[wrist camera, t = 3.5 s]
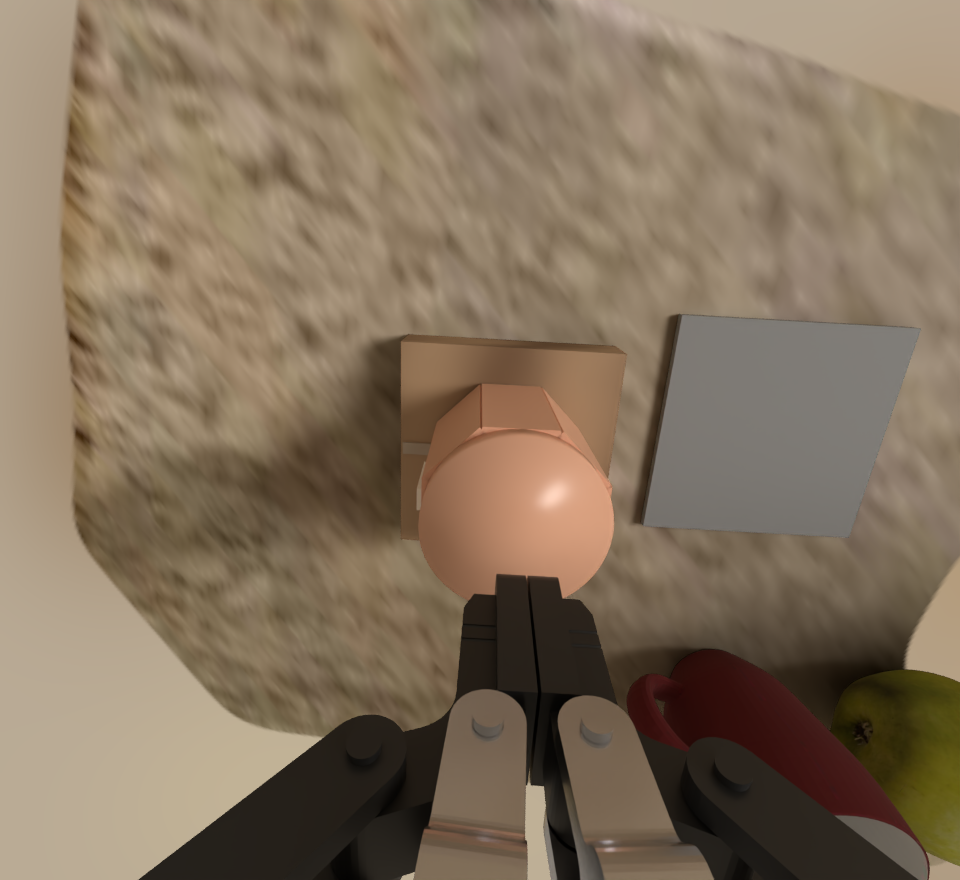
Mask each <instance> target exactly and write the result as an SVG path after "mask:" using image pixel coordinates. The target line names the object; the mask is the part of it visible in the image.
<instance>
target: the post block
mask: <svg viewBox="0 0 960 880" xmlns="http://www.w3.org/2000/svg"><path fill="white" fill-rule="evenodd" d="M626 357H627V354H626V353H624V352H623V351H621V350H620V349H619V348H617V347H616V346H604V345H586V344H568V343H551V342H533V341H516V340H498V339H480V338H463V337H445V336H427V335H410V334H408V335H407V336H406V337H405V338H404V339H403V340H402V341H401V539H407V540H420V539H419V530H418V521H419V512H420V510H417V486H418V482H419V479H420V475H421V472H422V468H423V464H424V462H426V460H427V456H428V453H429V449H430V445H431V441H432V438H433V434H434V430H435V426H436V423H437V421H438V420H440V419H441V418H442V417H443V416H444V415H445V414H446V413H448V412H449V411H450V410H451V409H452V408H453V407H454V406H456V405H457V404H458V403H459V402H460V401H461V400H462V399H464V398H465V397H466V396H467V395H468V394H469V393H470V392H471V391H473V390H474V389H475V388H476V387H477V386H478V385H479V384H480V385H481V386H482V384H501V385H520V386H539V387H541V388H543V389H544V390H545V391H546V392H547V393H548V394H549V396H550V397H551V398H552V399H553V400H554V401H555V402H556V404H557V405H558V406H559V407H560V408H561V409H562V410H563V412H564V413H565V414H566V415H567V416H568V417H569V418H570V420H571V421H572V422H573V423H574V424H575V425H576V426H577V428H578V429H579V430H580V432H581V434H582V435H583V437H584V439H585V441H586V442H587V444H588V446H589V447H590V449H591V451H592V453H593V454H594V456H595V458H596V459H597V461H598V463H599V465H600V466H601V468H602V470H603V472H604V473H605V475H606V477H607V478H608V475H609V468H610V462H611V455H612V449H613V442H614V436H615V429H616V423H617V416H618V410H619V403H620V396H621V390H622V383H623V377H624V370H625V364H626Z"/></svg>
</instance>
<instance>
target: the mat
mask: <svg viewBox="0 0 960 880" xmlns="http://www.w3.org/2000/svg"><path fill="white" fill-rule="evenodd" d="M920 330H921V329H920V328H914V327H897V326H879V325H862V324H844V323H827V322H809V321H791V320H774V319H756V318H739V317H721V316H704V315H686V314H679V316H678V322H677V327H676V333H675V338H674V344H673V349H672V354H671V360H670V365H669V371H668V376H667V382H666V387H665V393H664V398H663V404H662V409H661V415H660V420H659V426H658V431H657V436H656V442H655V447H654V453H653V458H652V464H651V469H650V475H649V480H648V486H647V491H646V497H645V502H644V507H643V513H642V518H641V523H642V525H643V526H649V527H667V528H685V529H702V530H720V531H738V532H756V533H773V534H791V535H809V536H827V537H845V538H849V536H850V533H851V530H852V527H853V524H854V521H855V518H856V516H857V513H858V510H859V507H860V504H861V501H862V498H863V495H864V492H865V489H866V487H867V484H868V481H869V478H870V475H871V472H872V469H873V466H874V463H875V461H876V458H877V455H878V452H879V449H880V446H881V443H882V440H883V437H884V434H885V432H886V429H887V426H888V423H889V420H890V417H891V414H892V411H893V408H894V406H895V403H896V400H897V397H898V394H899V391H900V388H901V385H902V382H903V379H904V377H905V374H906V371H907V368H908V365H909V362H910V359H911V356H912V353H913V351H914V348H915V345H916V342H917V339H918V336H919V333H920Z"/></svg>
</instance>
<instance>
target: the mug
mask: <svg viewBox="0 0 960 880" xmlns="http://www.w3.org/2000/svg"><path fill="white" fill-rule="evenodd" d="M654 698H655V699H659V700H661V701H664V702H665V706H664V714H663V716H662V714H661V713H660V711H659V709H658V707H657V705H656V702H655V699H654ZM627 708H628V713H629V717H630V719H631V721H632V722H633V724H634V726H635V728H636V729H637V730H638V731H639V732H641V733H642V734H644V735H645V736H647V737H649V738H651V739H653V740H656V741H658V742H661V743H663V744H666V745H669V746H672V747H675V748H678V749H681V750H683V751H686V752H688V750H689V748H690V746H691V745H692V744H693V743H694V742H696V741H697V740H699V739H702V738H707V737H717V738H723V739H726V740H730V741H732V742H735V743H737V744H739V745H741V746H743V747H744V748H746V749H747V750H749V751H750V752H752V753H753V754H755V755H756V756H757V757H758V758H760V759H761V760H762V761H764V762H765V763H766V764H768V765H769V766H770V767H772V768H773V769H774V770H775V771H777V772H778V773H779V774H781V775H782V776H783V777H785V778H786V779H787V780H789V781H790V782H791V783H792V784H794V785H795V786H796V787H798V788H799V789H800V790H802V791H803V792H804V793H806V794H807V795H808V796H809V797H811V798H812V799H813V800H815V801H816V802H817V803H819V804H820V805H821V806H823V807H824V808H825V809H827V810H828V811H829V812H830V813H832V814H833V815H834V816H836V817H837V818H838V819H840V820H841V821H842V822H844V823H845V824H846V825H847V826H849V827H850V828H851V829H853V830H854V831H855V832H857V833H858V834H859V835H861V836H862V837H863V838H864V839H866V840H867V841H868V842H870V843H871V844H872V845H874V846H875V847H876V848H878V849H879V850H880V851H882V852H883V853H884V854H885V855H887V856H888V857H889V858H891V859H892V860H893V861H895V862H896V863H897V864H899V865H900V866H901V867H902V868H904V869H905V870H906V871H908V872H909V873H910V874H912V875H913V876H914V877H916V878H917V879H918V880H928V879H929V871H930V867H929V860H928V856H927V854H926V851H925V849H924V848H923V846H922V844H921V843H920V841H919V840H918V838H917V837H916V835H915V834H914V833H913V831H912V830H911V828H910V827H909V825H908V824H907V823H906V821H905V820H904V818H903V817H902V815H901V814H900V813H899V811H898V810H897V808H896V807H895V806H894V804H893V803H892V802H891V800H890V799H889V798H888V796H887V795H886V794H885V792H884V791H883V789H882V788H881V787H880V785H879V784H878V783H877V782H876V781H875V779H874V778H873V777H872V776H871V774H870V773H869V772H868V771H867V770H866V768H865V767H864V766H863V765H862V764H861V763H860V762H859V761H858V760H857V759H856V757H855V756H854V755H853V754H852V753H851V752H850V751H849V750H848V749H847V748H846V747H845V746H844V745H843V744H842V743H841V742H840V741H839V740H838V739H837V738H836V737H835V736H834V735H833V734H832V733H831V732H830V731H829V730H828V729H827V728H826V727H825V726H824V725H823V724H822V723H821V722H820V721H819V720H818V719H817V718H816V717H815V716H814V715H813V714H812V713H811V712H810V711H809V710H808V709H807V708H806V707H805V706H804V705H803V704H802V703H801V702H800V701H799V700H798V699H797V698H796V697H795V696H794V695H793V694H792V693H791V692H790V691H789V690H788V689H787V688H786V687H785V686H784V685H783V684H782V683H781V682H779V681H778V680H777V679H776V678H774V677H773V676H772V675H770V674H768V673H767V672H765V671H764V670H762V669H760V668H758V667H757V666H755V665H753V664H751V663H749V662H747V661H745V660H743V659H741V658H739V657H737V656H735V655H733V654H731V653H728V652H725V651H722V650H715V649H707V650H701V651H698V652H695V653H692V654H690V655H688V656H687V657H685V658H683V659H682V660H681V661H680V662H679V663H678V664H677V665H676V666H675V668H674V670H673V672H672V674H671V677H670V679H669V678H667V677H665V676H662V675H659V674H647V675H644V676H642V677H640V678H639V679H638V680H637V681H635V682H634V683H633V685H632V686H631V687H630V689H629V692H628V695H627Z"/></svg>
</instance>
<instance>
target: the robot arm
mask: <svg viewBox="0 0 960 880" xmlns="http://www.w3.org/2000/svg"><path fill="white" fill-rule="evenodd" d="M529 768H530V782H531V785H535V786H544V790H545V801H546V810H545V817H544V826H543V828H544V837H545V843H546V850H547V856H548V863H549V869H550V876H551V880H918V879H917V878H916V877H914V876H913V875H912V874H910V873H909V872H908V871H906V870H905V869H904V868H902V867H901V866H900V865H899V864H897V863H896V862H895V861H893V860H892V859H891V858H889V857H888V856H887V855H885V854H884V853H883V852H882V851H880V850H879V849H878V848H876V847H875V846H874V845H872V844H871V843H870V842H868V841H867V840H866V839H864V838H863V837H862V836H861V835H859V834H858V833H857V832H855V831H854V830H853V829H851V828H850V827H849V826H847V825H846V824H845V823H844V822H842V821H841V820H840V819H838V818H837V817H836V816H834V815H833V814H832V813H830V812H829V811H828V810H827V809H825V808H824V807H823V806H821V805H820V804H819V803H817V802H816V801H815V800H813V799H812V798H811V797H809V796H808V795H807V794H806V793H804V792H803V791H802V790H800V789H799V788H798V787H796V786H795V785H794V784H792V783H791V782H790V781H789V780H787V779H786V778H785V777H783V776H782V775H781V774H779V773H778V772H777V771H775V770H774V769H773V768H772V767H770V766H769V765H768V764H766V763H765V762H764V761H762V760H761V759H760V758H758V757H757V756H756V755H755V754H753V753H752V752H750V751H749V750H747V749H746V748H744V747H743V746H741V745H739V744H737V743H735V742H732V741H730V740H726V739H723V738H717V737H707V738H702V739H699V740H697V741H696V742H694V743H693V744H692V745H691V746H690V748H689V750H688V752H686V751H683V750H681V749H678V748H675V747H672V746H669V745H666V744H663V743H661V742H658V741H656V740H653V739H651V738H649V737H647V736H645V735H644V734H642V733H641V732H639V731H638V730H637V729H636V728H635V726H634V724H633V722H632V721H631V719H630V718H629V716H628V715H627V714H626V713H625V712H624V711H623V710H622V709H621V708H620V707H619V706H618V705H617V702H616V698H615V695H614V691H613V688H612V684H611V680H610V677H609V673H608V669H607V666H606V662H605V659H604V655H603V651H602V649H601V644H600V641H599V637H598V635H597V630H596V626H595V623H594V619H593V615H592V614H591V613H590V611H589V610H588V609H587V608H586V607H585V606H584V604H583V603H582V602H581V601H580V600H575V599H563V598H562V593H561V588H560V583H559V579H558V577H547V576H530V575H528V576H527V579H526V575H511V574H496V582H495V595H488V594H473V596H472V597H471V598H470V600H469V601H468V603H467V604H466V605H465V607H464V613H463V625H462V636H461V647H460V659H459V670H458V681H457V692H456V698H455V701H454V703H453V705H452V707H451V708H450V710H449V711H448V712H447V713H446V714H445V715H444V716H443V717H442V718H441V719H439V720H438V721H436V722H434V723H432V724H430V725H428V726H425V727H422V728H418V729H414V730H409V731H405V732H403V731H402V730H401V728H400V727H399V726H398V725H397V724H396V723H395V722H393V721H392V720H390V719H388V718H386V717H383V716H379V715H363V716H358V717H355V718H352V719H350V720H348V721H346V722H344V723H342V724H341V725H339V726H338V727H337V728H335V729H334V730H333V731H332V732H330V733H329V734H328V735H326V736H325V737H324V738H322V739H321V740H320V741H319V742H317V743H316V744H315V745H313V746H312V747H311V748H309V749H308V750H307V751H306V752H304V753H303V754H302V755H300V756H299V757H298V758H296V759H295V760H294V761H292V762H291V763H290V764H289V765H287V766H286V767H285V768H283V769H282V770H281V771H279V772H278V773H277V774H276V775H274V776H273V777H272V778H270V779H269V780H268V781H266V782H265V783H264V784H263V785H262V786H260V787H259V788H257V789H256V790H255V791H253V792H252V793H251V794H250V795H248V796H247V797H246V798H244V799H243V800H242V801H241V802H239V803H238V804H236V805H235V806H234V807H233V808H231V809H230V810H229V811H227V812H226V813H225V814H223V815H222V816H221V817H219V818H218V819H217V820H216V821H214V822H213V823H212V824H210V825H209V826H208V827H206V828H205V829H204V830H203V831H201V832H200V833H199V834H197V835H196V836H195V837H193V838H192V839H191V840H190V841H188V842H187V843H186V844H184V845H183V846H182V847H180V848H179V849H178V850H176V851H175V852H174V853H173V854H171V855H170V856H169V857H167V858H166V859H165V860H163V861H162V862H161V863H160V864H158V865H157V866H156V867H154V868H153V869H152V870H150V871H149V872H148V873H146V874H145V875H144V876H143V877H141V878H140V879H139V880H400V879H401V877H402V876H403V875H406V874H410V873H413V872H415V874H414V879H413V880H527V865H528V863H527V862H528V860H527V841H526V840H525V799H526V798H525V797H526V785H527V783H528V775H529Z"/></svg>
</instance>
